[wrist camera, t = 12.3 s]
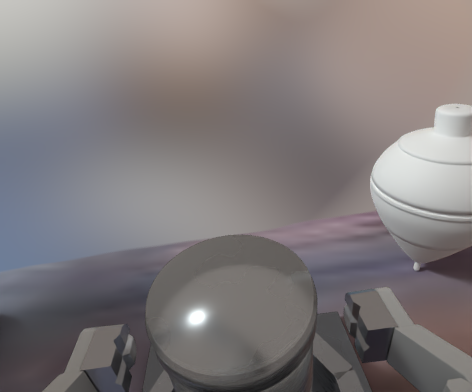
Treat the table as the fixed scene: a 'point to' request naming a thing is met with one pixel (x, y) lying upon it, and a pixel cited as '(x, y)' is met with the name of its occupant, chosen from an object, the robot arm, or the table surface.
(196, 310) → the lidded canister
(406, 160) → the spinning top
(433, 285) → the table surface
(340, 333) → the duct flange
